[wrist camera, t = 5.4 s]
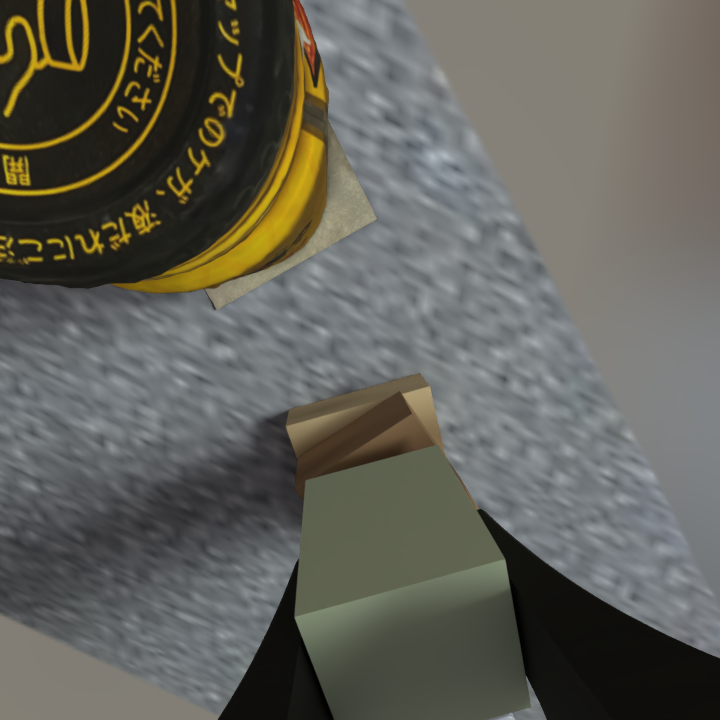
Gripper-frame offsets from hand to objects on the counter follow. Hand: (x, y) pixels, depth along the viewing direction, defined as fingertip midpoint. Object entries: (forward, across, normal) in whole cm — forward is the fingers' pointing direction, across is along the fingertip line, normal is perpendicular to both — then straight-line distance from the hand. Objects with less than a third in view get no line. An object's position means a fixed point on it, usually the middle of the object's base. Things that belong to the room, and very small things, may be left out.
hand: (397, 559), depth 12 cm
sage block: (+2, 0, 0) cm, 2 cm away
